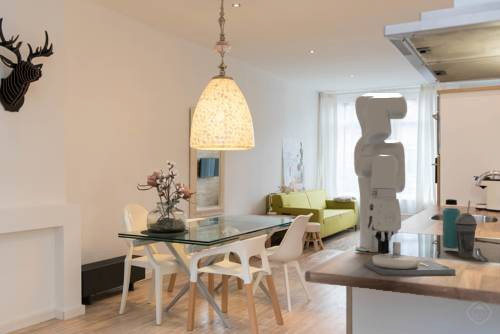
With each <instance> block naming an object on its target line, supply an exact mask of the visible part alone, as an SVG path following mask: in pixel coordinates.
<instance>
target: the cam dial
mask: <svg viewBox="0 0 500 334" xmlns="http://www.w3.org/2000/svg"><path fill="white" fill-rule="evenodd" d="M401 244H402V243H401V242H399V241H392V253H391V254H382V253H378V254H374V255H373V256H372V261H373V264H374V265H376V266H380V267H386V268H395V269H410V268H416V267H418V260H419V259H418V258H417V257H414V256H411V255H405V254H404V255H403V254H401V251H402V250H401V249H402V247H401V246H402V245H401Z"/></svg>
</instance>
